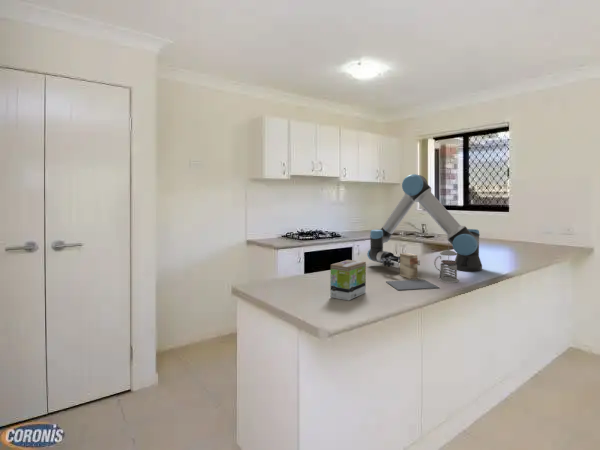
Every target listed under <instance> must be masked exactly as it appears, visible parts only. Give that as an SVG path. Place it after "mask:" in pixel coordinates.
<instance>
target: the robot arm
mask: <svg viewBox="0 0 600 450" xmlns="http://www.w3.org/2000/svg"><path fill="white" fill-rule="evenodd" d="M401 188H402V191H403V193H404V195H402V198H401V199H400V201H399V202H398V203H397V205H396V206H395V208H394V209H393V211H392V212H391V214H390V215H389V217H388V218H387V219H386V221H385V223H384V224H383V225H382V226H381V228H380V229H371V230H370V233H369V237H370V241H369V242H370V248H369V250H367V253H366V256H367V259H369V260H370V261H373V262H376V263H378V264H379V263H380V264H382V265H383V266H385V267H386V266H387V267H388V268H390V267H394V268H397V269H398V268H399V269H400V255H399V256H396V255H395V254H394V253H392V252H390V251H386V250H384V243H388V241H390V240H391V237H392V235H393V233H394V232H395V230H396V229H397V228H398V226H399V225H400V224H401V223H402V221H403V219H404V218H405V216H406V215H407V214H408V212H410V209H411V208H412V207H413V205H414V204H415V202H416V203H419V204H420V206H421V207H422V208H423V209H424V210H425V211H426V212H427V214H429V216H430V217H431V218H432V219H433V220H434V222H436V224H437V225H438V227H440V228H441V231H443V232H444V233H445V235H446V240H447V241H448V243H449V244H451V245H452V248H453V251H454V252H456V253H457V255H455V259H454V261H456V263H454V264H457V271H463V272H478V271H479V272H480V271H482V270H483V265H482V261H481V258H480V230H478V229H475V228H467V227H466V225H461V224H460V223H459V221H457V220H456V219H455V217H454V216H453V215H452V214H451V212H449V211H448V209H446V207H445V206H444V205H443V204H442V203H441V202H440V200H439V199H438V198H437V197H436V196H435V194H433V193H432V187H431V186H430V185H429V183H428V181H427V179H426V178H425V177H424V176H423V175H421V174H415V173H413V174H409V175H407V176H406V177H405V178H404V179H403V180H402V183H401ZM448 231H450V232H451V234H447V232H448ZM420 265H421V260H420V259H418V264H417V266H420Z"/></svg>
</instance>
